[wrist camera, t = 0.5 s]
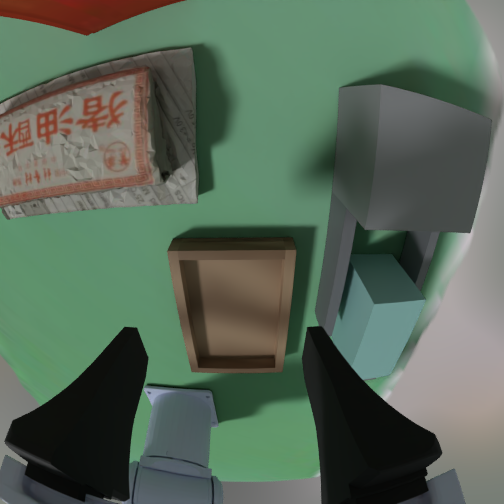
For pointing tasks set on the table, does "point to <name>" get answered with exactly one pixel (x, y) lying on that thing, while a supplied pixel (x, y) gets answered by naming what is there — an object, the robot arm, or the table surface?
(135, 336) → the robot arm
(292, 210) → the table surface
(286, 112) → the table surface
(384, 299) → the tall teal block
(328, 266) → the bay
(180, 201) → the packaged product
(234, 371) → the tray
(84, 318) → the table surface
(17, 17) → the file binder
